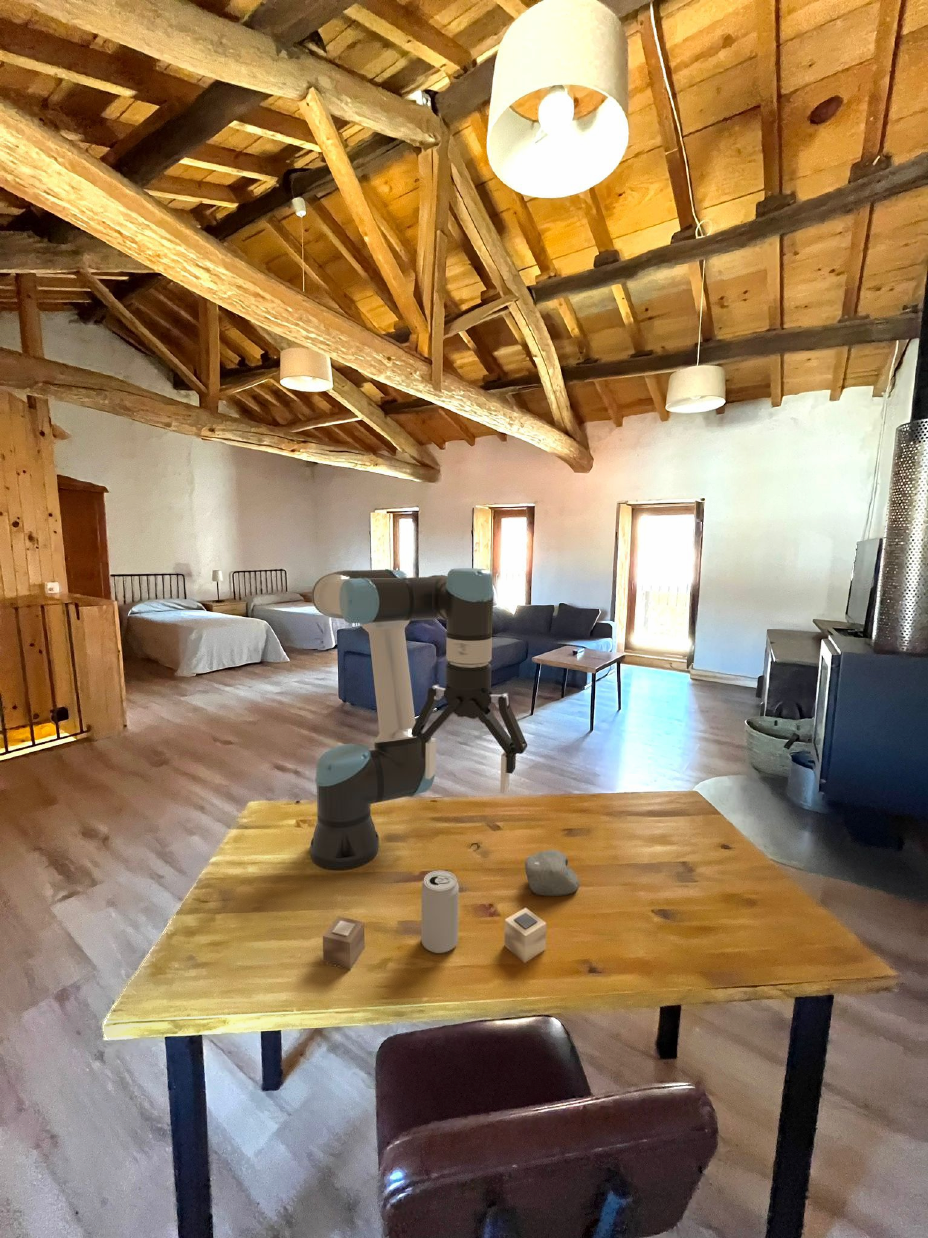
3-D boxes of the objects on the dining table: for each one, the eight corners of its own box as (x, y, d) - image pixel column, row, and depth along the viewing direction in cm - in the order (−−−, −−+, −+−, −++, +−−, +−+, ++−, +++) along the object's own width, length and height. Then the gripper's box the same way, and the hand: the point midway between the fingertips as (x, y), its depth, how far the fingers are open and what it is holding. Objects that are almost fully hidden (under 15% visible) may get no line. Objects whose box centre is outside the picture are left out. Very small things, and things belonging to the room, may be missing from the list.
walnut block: (323, 963, 89) (322, 935, 89) (338, 942, 94) (338, 915, 93) (350, 970, 88) (349, 941, 87) (364, 948, 93) (364, 921, 92)
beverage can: (421, 930, 97) (421, 869, 95) (456, 929, 98) (457, 867, 96) (421, 957, 91) (421, 892, 89) (459, 955, 91) (460, 890, 90)
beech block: (504, 946, 94) (505, 918, 93) (524, 933, 97) (525, 906, 96) (524, 963, 90) (525, 935, 89) (545, 949, 93) (546, 922, 92)
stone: (585, 901, 105) (563, 858, 104) (544, 919, 106) (521, 877, 105) (577, 873, 114) (556, 833, 113) (539, 890, 115) (518, 851, 114)
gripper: (391, 659, 90) (392, 779, 94) (537, 675, 82) (532, 806, 85) (411, 651, 97) (411, 762, 101) (547, 664, 89) (543, 786, 92)
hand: (466, 783), depth 93 cm, fingers open, 13 cm apart
